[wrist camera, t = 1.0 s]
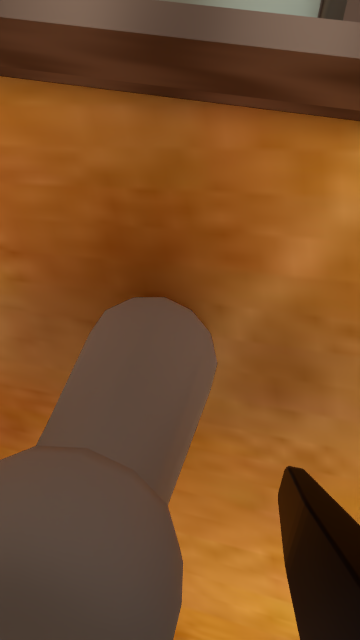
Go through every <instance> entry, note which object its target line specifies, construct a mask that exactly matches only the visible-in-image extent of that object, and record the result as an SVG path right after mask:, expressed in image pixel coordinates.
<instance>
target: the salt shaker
mask: <svg viewBox="0 0 360 640" xmlns="http://www.w3.org/2000/svg"><path fill="white" fill-rule="evenodd" d="M216 367H217V359H216V355H215V350H214V346H213V341H212V337H211V334H210V332H209V331H208V329H207V328H206V327H205V326H204V325H203V323H202V322H201V321H200V320H199V319H198V317H197V316H196V315H195V314H194V313H193V311H192V310H190V309H188V308H186V307H184V306H182V305H180V304H178V303H176V302H174V301H172V300H170V299H168V298H166V297H135V298H131V299H129V300H127V301H125V302H123V303H120V304H118V305H116V306H114V307H112V308H110V309H107V310H105V312H104V313H103V315H102V316H101V317H100V319H99V320H98V322H97V323H96V325H95V326H94V328H93V329H92V331H91V332H90V333H89V336H88V338H87V340H86V342H85V344H84V346H83V348H82V350H81V353H80V355H79V357H78V359H77V361H76V363H75V365H74V368H73V370H72V372H71V374H70V376H69V378H68V380H67V383H66V385H65V387H64V389H63V391H62V393H61V395H60V397H59V400H58V402H57V404H56V406H55V408H54V410H53V412H52V415H51V417H50V419H49V421H48V423H47V425H46V427H45V429H44V431H43V433H42V435H41V437H40V439H39V441H38V443H37V445H36V446H35V447H32V448H30V449H27V450H25V451H22V452H19V453H17V454H14V455H12V456H9V457H7V458H4V459H2V460H0V640H173V637H174V633H175V629H176V625H177V621H178V616H179V612H180V608H181V602H182V576H183V560H182V556H181V552H180V547H179V543H178V540H177V536H176V533H175V529H174V526H173V522H172V519H171V516H170V512H169V509H168V503H169V501H170V498H171V495H172V493H173V490H174V487H175V485H176V482H177V479H178V476H179V474H180V471H181V468H182V466H183V463H184V460H185V457H186V455H187V452H188V449H189V447H190V444H191V441H192V439H193V436H194V433H195V430H196V428H197V425H198V422H199V420H200V417H201V414H202V412H203V409H204V406H205V403H206V401H207V398H208V395H209V393H210V390H211V386H212V382H213V379H214V375H215V371H216Z"/></svg>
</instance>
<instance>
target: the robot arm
mask: <svg viewBox="0 0 360 640" xmlns="http://www.w3.org/2000/svg"><path fill="white" fill-rule="evenodd" d="M278 505H279V515H280V524H281V534H282V543H283V553H284V561H285V568H286V573H287V579H288V584H289V588H290V593H291V598H292V603H293V608H294V612H295V617H296V622H297V627H298V632H299V636H300V640H360V525H359V524H358V523H357V522H356V521H355V520H354V519H353V518H352V517H351V516H350V515H349V514H348V513H347V512H346V511H345V510H344V509H343V508H342V507H341V506H340V505H339V504H338V503H337V502H336V501H335V500H334V499H333V498H332V497H331V496H330V495H329V494H328V493H327V492H326V491H325V490H324V489H323V488H322V487H321V486H320V485H319V484H318V483H317V482H316V481H315V480H314V479H313V478H312V477H311V476H310V475H309V474H308V473H307V472H306V471H305V470H304V469H302V468H297V467H292V466H288V467H286V469H285V471H284V474H283V478H282V481H281V485H280V488H279V492H278Z"/></svg>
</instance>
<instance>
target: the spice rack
mask: <svg viewBox="0 0 360 640" xmlns="http://www.w3.org/2000/svg"><path fill="white" fill-rule="evenodd" d="M0 76H6V77H14V78H22V79H30V80H38V81H46V82H54V83H62V84H70V85H78V86H86V87H94V88H102V89H110V90H118V91H126V92H134V93H142V94H150V95H158V96H166V97H174V98H182V99H190V100H198V101H206V102H214V103H222V104H230V105H238V106H246V107H254V108H262V109H270V110H278V111H286V112H293V113H301V114H309V115H317V116H325V117H333V118H341V119H349V120H357V121H360V0H0Z"/></svg>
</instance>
